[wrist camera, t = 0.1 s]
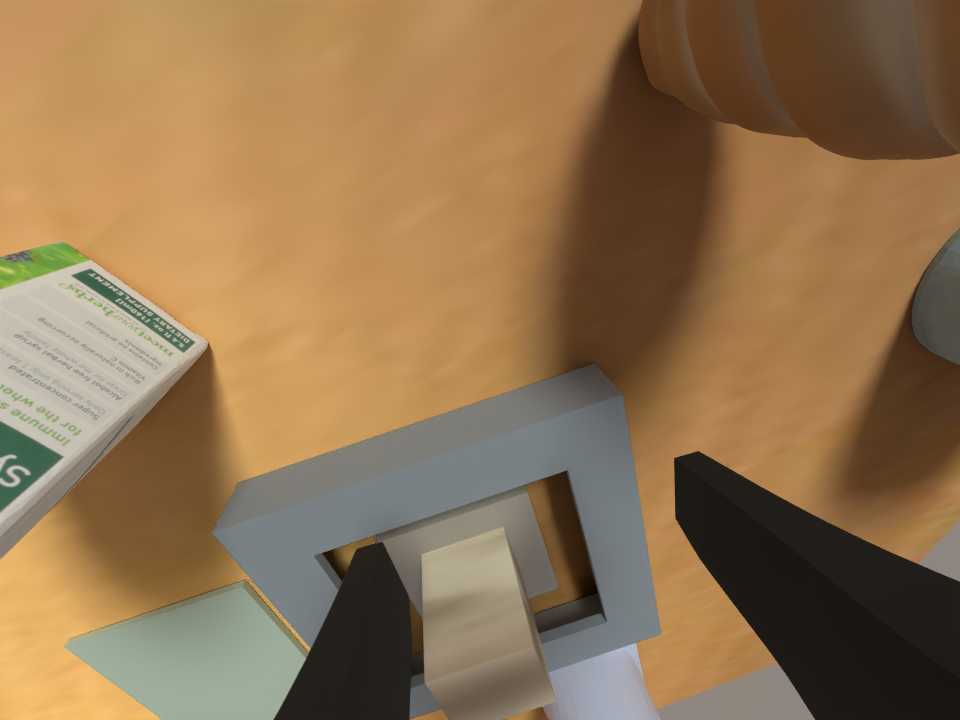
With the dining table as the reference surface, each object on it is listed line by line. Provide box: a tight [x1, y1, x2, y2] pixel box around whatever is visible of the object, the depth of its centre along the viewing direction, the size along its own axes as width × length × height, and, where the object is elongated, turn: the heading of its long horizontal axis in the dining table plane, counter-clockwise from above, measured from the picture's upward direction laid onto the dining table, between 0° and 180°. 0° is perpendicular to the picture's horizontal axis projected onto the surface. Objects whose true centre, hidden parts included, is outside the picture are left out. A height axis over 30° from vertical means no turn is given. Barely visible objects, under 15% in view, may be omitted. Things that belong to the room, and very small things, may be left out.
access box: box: [211, 363, 661, 719], centre depth 23 cm, size 18×18×3 cm
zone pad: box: [64, 580, 309, 720], centre depth 25 cm, size 12×10×1 cm
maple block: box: [421, 527, 557, 720], centre depth 20 cm, size 4×4×6 cm
